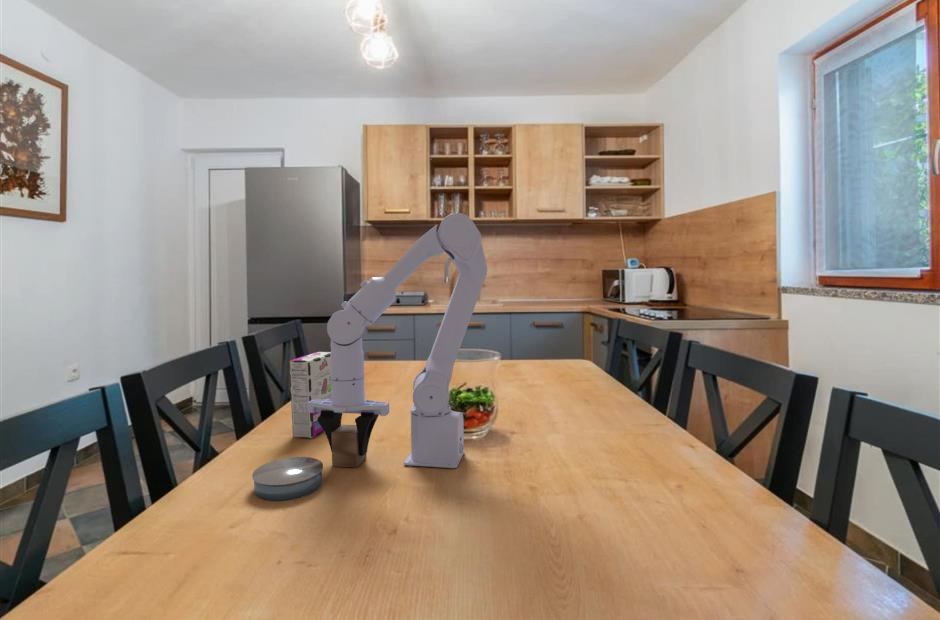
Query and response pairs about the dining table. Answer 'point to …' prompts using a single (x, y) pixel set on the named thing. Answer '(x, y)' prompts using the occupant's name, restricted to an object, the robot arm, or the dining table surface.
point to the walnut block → (346, 447)
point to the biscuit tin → (287, 478)
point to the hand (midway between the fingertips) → (349, 452)
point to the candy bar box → (309, 391)
